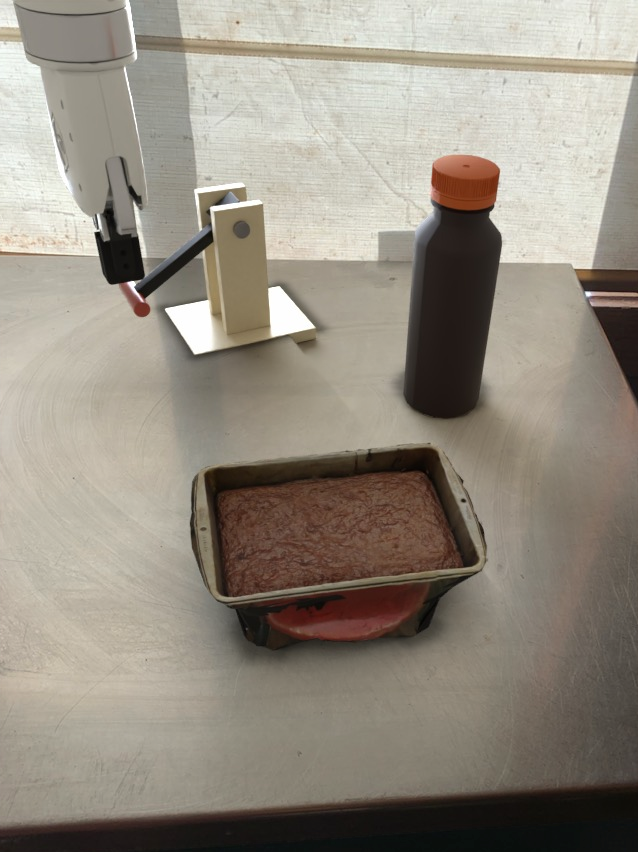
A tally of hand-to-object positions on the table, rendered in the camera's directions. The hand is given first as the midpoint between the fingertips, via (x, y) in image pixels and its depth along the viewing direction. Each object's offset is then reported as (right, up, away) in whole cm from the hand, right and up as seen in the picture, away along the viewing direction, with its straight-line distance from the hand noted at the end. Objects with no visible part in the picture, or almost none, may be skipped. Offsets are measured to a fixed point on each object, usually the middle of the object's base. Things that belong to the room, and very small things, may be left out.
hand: (124, 277), depth 68 cm
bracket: (+8, -2, +9) cm, 12 cm away
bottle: (+28, -10, +3) cm, 29 cm away
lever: (+5, +2, +2) cm, 6 cm away
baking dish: (+20, -26, -14) cm, 35 cm away
